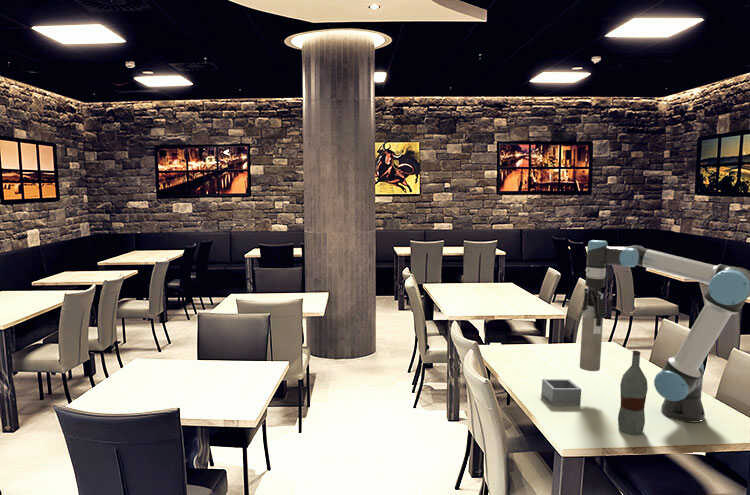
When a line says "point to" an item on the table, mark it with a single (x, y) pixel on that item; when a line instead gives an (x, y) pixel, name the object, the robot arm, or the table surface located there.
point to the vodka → (633, 398)
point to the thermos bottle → (590, 341)
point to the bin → (561, 392)
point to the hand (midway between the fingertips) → (592, 330)
